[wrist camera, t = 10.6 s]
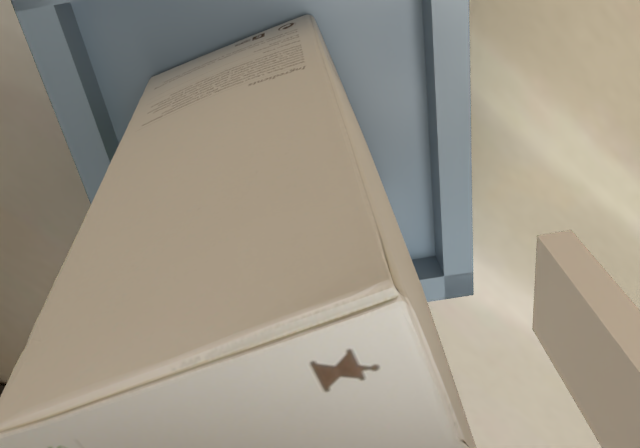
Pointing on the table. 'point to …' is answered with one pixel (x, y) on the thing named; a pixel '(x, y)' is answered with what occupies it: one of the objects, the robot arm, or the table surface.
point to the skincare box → (238, 278)
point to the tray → (351, 65)
